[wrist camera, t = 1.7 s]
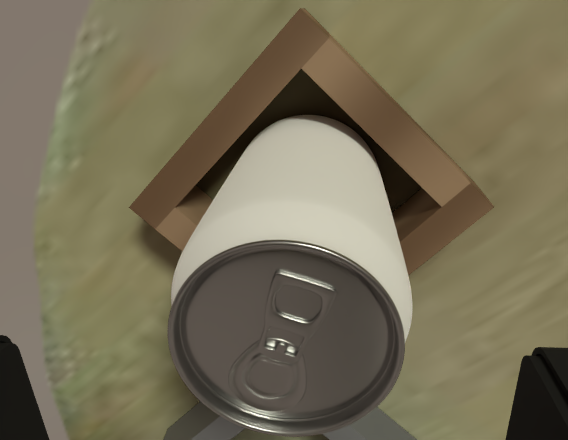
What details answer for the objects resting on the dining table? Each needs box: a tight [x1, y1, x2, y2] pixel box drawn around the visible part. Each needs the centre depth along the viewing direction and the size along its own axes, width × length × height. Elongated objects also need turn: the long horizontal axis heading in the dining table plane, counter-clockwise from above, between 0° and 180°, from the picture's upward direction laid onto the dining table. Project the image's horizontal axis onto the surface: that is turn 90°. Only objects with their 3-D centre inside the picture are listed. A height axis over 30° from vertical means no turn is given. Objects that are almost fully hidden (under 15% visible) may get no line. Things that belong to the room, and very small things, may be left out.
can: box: [168, 115, 412, 437], centre depth 17 cm, size 6×6×12 cm
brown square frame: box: [129, 8, 494, 275], centre depth 21 cm, size 10×10×3 cm
